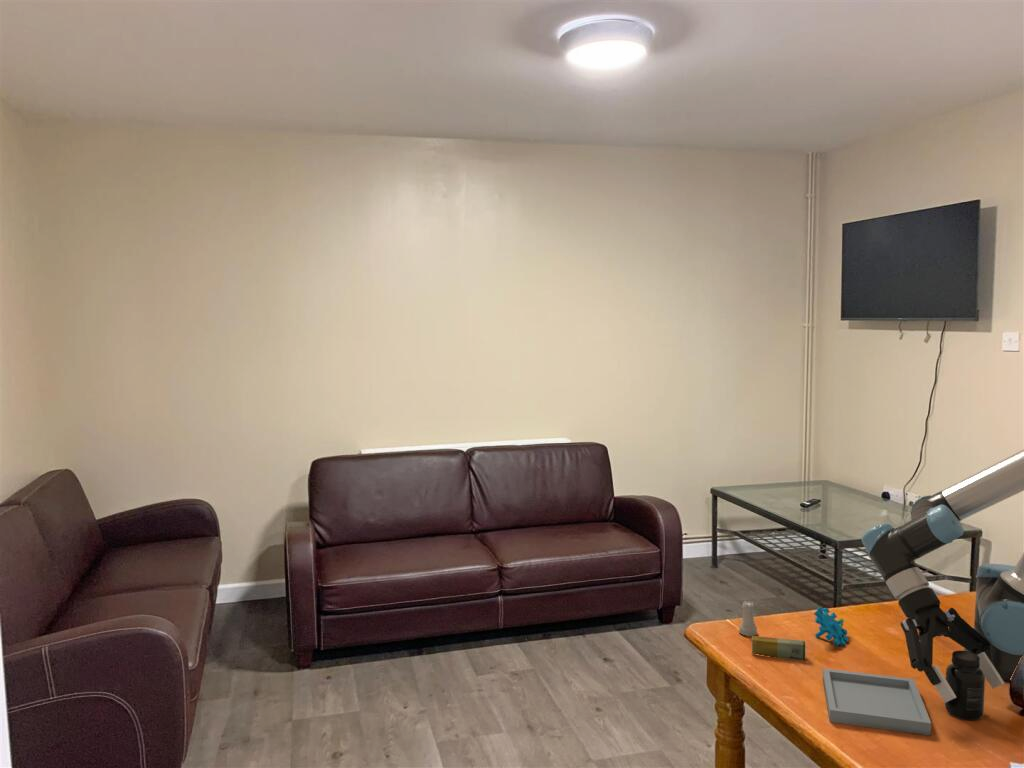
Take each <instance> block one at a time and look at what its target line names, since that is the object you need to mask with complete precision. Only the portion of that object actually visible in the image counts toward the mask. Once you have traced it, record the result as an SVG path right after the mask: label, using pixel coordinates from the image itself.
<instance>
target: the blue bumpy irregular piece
mask: <svg viewBox="0 0 1024 768" xmlns="http://www.w3.org/2000/svg"><path fill="white" fill-rule="evenodd" d="M829 613H830V609H829V608H828V607H824V608H823V607H822V606H819V607H817V609H816V611H814V613H813V614H814V616H816V617H815V618H814V622H815V623H816V624H819V625H820V626H819V627H818V629H819V630H818V631H817V632H816V633H815V634H814V636H815V638H820V637H821V636H823V635H824V634H825V638H826V639H827V640H828V641H831V640H832V639H834V640H833V641H832V643H833V644H834V645H835V646H839V645H840V647H843V646H846V645H847V642H848V641H849V637H848V636H847V635H848V630H847V629H845V628H843V626H844V623H845V621H844V619H843V618H839V619H838V620H836V618H838V616H837V614H836V613H835V612H831V613H830V614H829ZM826 633H827V634H826Z"/></svg>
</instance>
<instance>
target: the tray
mask: <svg viewBox="0 0 1024 768" xmlns="http://www.w3.org/2000/svg"><path fill="white" fill-rule="evenodd" d="M822 683H823V690H824V695H825V696H824V697H825V702H826V708H827V715H828V720H829V723H836V724H841V725H842V724H843V725H849V726H857V727H864V728H865V727H866V728H871V729H878V730H879V729H880V730H885V731H886V730H888V731H894V732H902V733H910V734H916V735H924V736H931V735H932V721H931V719H930V716H929V714H928V711H927V709H926V706H925V704H924V701H923V699H922V697H921V694H920V692H919V689H918V687H917V684H916V682H915V678H908V677H900V676H899V677H898V676H890V675H883V674H882V675H881V674H875V673H874V674H873V673H866V672H857V671H848V670H841V669H840V670H839V669H832V668H822Z"/></svg>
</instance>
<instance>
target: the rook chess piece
mask: <svg viewBox="0 0 1024 768" xmlns="http://www.w3.org/2000/svg"><path fill="white" fill-rule="evenodd" d="M741 607H742V609H743V610H742V621H741V622H740V624H739V626H738V628H739V629H738V632H739V634H740V633H741V634H743V635H746V636H745V637H747V636H754V635H755V636H756V635H757V634H758V628H757V625H756V622H755V618H754V614H755V611H754V609H755V608H756V606H755V603H754V601H750V600H748V601H747V600H744V601H743V604H742V605H741ZM741 634H740V635H741ZM743 635H742V636H743Z"/></svg>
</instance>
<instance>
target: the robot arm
mask: <svg viewBox="0 0 1024 768" xmlns="http://www.w3.org/2000/svg"><path fill="white" fill-rule="evenodd" d="M1022 492H1024V449H1022V450H1020V451H1018V452H1015V453H1014V454H1011V455H1010V456H1008V457H1006V458H1004V459H1002V460H1000V461H998V462H996V463H994V464H992V465H989V466H988V467H987V468H984V469H983V470H980V471H978V472H976V473H974V474H972V475H970V476H968V477H966V478H963V479H962V480H960V481H958V482H957V483H954V484H952V485H951V486H948V487H946V488H944V489H943V490H940V491H939V492H936V493H934V494H933V495H929V494H928V495H923V496H920V497H919V498H917V499H916V500H915V502H914V503H913V505H912V506H911V510H910V511H911V512H910V518H911V519H910V520H908V521H907V522H905V523H904V524H902V525H900V526H898V527H893V525H891V524H890V523H881V524H879V525H876V526H873V527H872V528H870V529H868V530H867V531H865V532H864V534H863V535H862V537H861V543H862V545H863V546H864V548H865V550H866V553H867V555H868V558H869V559H870V560H871V562H872V563H873V564H874V566H875V568H876V569H877V571H878V572H879V573H880V576H881V578H882V579H883V581H884V582H885V584H886V586H887V587H888V589H889V590H890V592H891V594H892V595H893V597H894V599H895V600H898V604H897V605H898V606H899V608H900V609H901V611H902V612H903V614H904V616H905V617H906V619H904V620H903V621H901V622H900V626H901V629H902V630H903V632H904V636H905V642H906V646H907V651H908V652H907V653H908V656H909V657H908V658H909V662H910V666H911V668H912V669H914V670H915V669H917V671H919V672H921V673H922V672H924V674H925V675H926V678H927V679H928V680H929V682H930V684H931V685H932V686H934V687H935V689H936V691H937V692H938V694H939V696H940V697H941V699H942V701H943V703H944V704H945V703H946V702H948V701H950V700H952V699H954V698H956V695H955V694H954V692H953V690H952V689H951V687H950V686H949V684H948V682H947V681H946V676H944V674H943V672H942V670H940V667H939V666H938V664H933V653H934V650H933V649H934V638H936V637H938V638H939V637H942V636H943V637H945V638H949V639H950V640H952V641H954V642H955V643H957V644H958V645H960V646H961V647H962V648H963V649H964V650H963V651H967V652H971V653H974V654H976V655H977V656H978V657H979V658H980V663H979V664H980V667H979V669H980V670H981V671H982V672H983V673H984V675H985V680H987V682H988V684H989V685H990V687H991V688H992V689H995V688H998V687H1000V686H1001V685H1003V684H1005V681H1008V682H1011V681H1010V678H1011V676H1012V674H1013V672H1014V670H1015V668H1016V666H1017V665H1018V662H1019V660H1020V658H1021V657H1022V656H1023V655H1024V552H1023V553H1022V555H1021V556H1020V558H1019V560H1018V561H1017V563H1016V565H1010V564H1002V563H1001V564H1000V563H984V564H981V565H979V566H978V567H977V571H976V575H975V578H976V583H975V585H976V586H975V587H976V588H975V606H974V623H973V627H972V626H971V625H970V624H969V623H968V622H967V621H966V620H965V619H964V618H962V617H961V616H960V614H959V613H958V611H957V610H956V609H955V608H954V607H950V608H949V609H947V610H945V611H944V610H942V608H941V607H940V606H941V601H940V599H939V597H938V596H937V594H936V593H935V591H934V590H933V588H931V587H929V585H930V584H929V581H928V580H927V578H926V577H925V575H924V574H923V572H922V571H921V569H920V568H919V565H917V563H916V560H918V559H921V558H922V557H924V556H926V555H928V554H930V553H932V552H934V551H935V550H937V549H938V550H939V549H940V548H942V547H943V546H946V545H947V544H951V543H953V542H954V541H956V540H957V539H959V538H960V537H961V536H963V535H964V532H965V531H964V527H963V526H962V523H961V521H963V520H964V519H966V518H969V517H971V516H973V515H976V514H977V513H981V512H982V511H984V510H986V509H988V508H990V507H993V506H995V505H997V504H998V503H1001V502H1003V501H1005V500H1007V499H1009V498H1011V497H1014V496H1016V495H1017V494H1020V493H1022Z"/></svg>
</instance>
